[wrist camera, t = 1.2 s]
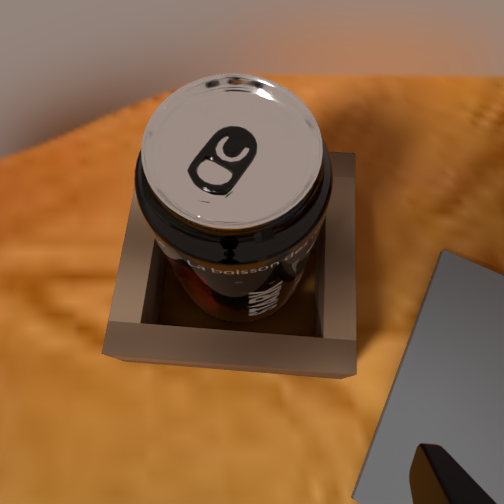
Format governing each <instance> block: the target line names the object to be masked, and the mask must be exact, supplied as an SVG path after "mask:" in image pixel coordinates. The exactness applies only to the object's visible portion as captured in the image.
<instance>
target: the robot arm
mask: <svg viewBox="0 0 504 504" xmlns="http://www.w3.org/2000/svg"><path fill="white" fill-rule="evenodd" d="M409 483H410V489H411V495H412V500H413V504H497V503H496V502H495V501H494V500H493V499H492V498H491V497H490V496H489V495H488V494H487V493H486V492H485V491H484V490H483V489H482V488H481V487H480V486H479V484H478V483H477V482H476V481H475V480H474V479H473V478H472V477H471V476H470V475H469V474H468V473H467V472H466V471H465V470H464V469H463V468H462V467H461V466H460V465H459V464H458V463H457V461H456V460H455V459H454V458H453V457H452V456H451V455H450V454H449V453H448V452H447V451H446V450H445V449H444V448H443V447H442V446H440V445H437V444H427V443H420V444H419V445H418V446H417V448H416V451H415V454H414V458H413V461H412V464H411V467H410V471H409Z"/></svg>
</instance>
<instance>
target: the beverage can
mask: <svg viewBox="0 0 504 504" xmlns="http://www.w3.org/2000/svg"><path fill="white" fill-rule="evenodd" d="M332 187H333V168H332V161H331V157H330V154H329V151H328V148H327V146H326V144H325V142H324V140H323V138H322V136H321V134H320V129H319V127H318V125H317V122H316V120H315V118H314V116H313V115H312V113H311V111H310V110H309V108H308V107H307V106H306V105H305V104H304V103H303V102H302V100H301V99H300V98H298V97H297V96H296V95H295V94H294V93H292V92H291V91H290V90H288V89H286V88H285V87H283V86H281V85H280V84H278V83H275V82H273V81H271V80H268V79H265V78H261V77H258V76H254V75H247V74H220V75H213V76H209V77H205V78H201V79H199V80H196V81H193V82H191V83H189V84H187V85H185V86H183V87H181V88H179V89H178V90H177V91H175V92H174V93H172V94H171V95H170V96H168V97H167V98H166V99H165V100H164V101H163V102H162V103H161V104H160V105H159V107H158V108H157V109H156V110H155V112H154V113H153V115H152V116H151V118H150V120H149V122H148V124H147V126H146V129H145V131H144V135H143V140H142V147H141V150H140V152H139V155H138V158H137V162H136V168H135V191H136V197H137V201H138V204H139V207H140V210H141V212H142V214H143V217H144V219H145V221H146V224H147V226H148V227H149V229H150V231H151V233H152V234H153V236H154V238H155V239H156V241H157V243H158V245H159V246H160V248H161V250H162V252H163V253H164V255H165V257H166V258H167V260H168V262H169V264H170V265H171V267H172V269H173V270H174V272H175V274H176V276H177V277H178V279H179V281H180V282H181V284H182V286H183V287H184V289H185V290H186V292H187V293H188V295H189V296H190V298H191V299H192V300H193V301H194V302H195V303H196V304H197V305H198V306H199V307H200V308H201V309H202V310H204V311H205V312H207V313H208V314H210V315H212V316H214V317H217V318H219V319H222V320H226V321H232V322H248V321H254V320H258V319H261V318H264V317H266V316H268V315H270V314H272V313H274V312H275V311H277V310H278V309H279V308H281V307H282V306H283V305H284V304H285V303H286V302H287V301H288V300H289V298H290V297H291V296H292V294H293V293H294V291H295V289H296V287H297V285H298V283H299V281H300V279H301V276H302V274H303V272H304V269H305V267H306V264H307V261H308V259H309V256H310V254H311V251H312V249H313V246H314V244H315V241H316V238H317V236H318V233H319V231H320V228H321V226H322V223H323V221H324V218H325V215H326V213H327V210H328V206H329V202H330V198H331V194H332Z"/></svg>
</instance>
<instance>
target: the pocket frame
mask: <svg viewBox="0 0 504 504" xmlns="http://www.w3.org/2000/svg"><path fill="white" fill-rule="evenodd" d="M329 154H330V157H331V161H332V168H333V187H332V194H331V198H330V202H329V206H328V210H327V213H326V215H325V218H324V221H323V223H322V226H321V228H320V231H319V233H318V236H317V238H316V259H315V295H314V330H313V337H306V336H293V335H281V334H268V333H256V332H243V331H230V330H218V329H205V328H193V327H180V326H167V325H158V321H159V314H160V308H161V301H162V295H163V289H164V282H165V276H166V269H167V263H168V260H167V258H166V257H165V255H164V253H163V252H162V250H161V248H160V246H159V245H158V243H157V241H156V239H155V238H154V236H153V234H152V233H151V231H150V229H149V227H148V226H147V224H146V221H145V219H144V217H143V214H142V212H141V210H140V207H139V204H138V201H137V197H136V191H135V188H134V193H133V198H132V203H131V208H130V213H129V218H128V223H127V228H126V233H125V238H124V243H123V248H122V253H121V258H120V263H119V269H118V274H117V279H116V284H115V289H114V294H113V299H112V304H111V309H110V314H109V319H108V324H107V329H106V334H105V339H104V344H103V349H102V354H104V355H107V356H110V357H113V358H116V359H119V360H122V361H127V362H139V363H152V364H164V365H176V366H188V367H200V368H213V369H225V370H237V371H249V372H261V373H274V374H286V375H298V376H310V377H323V378H335V379H343V378H346V377H350V376H353V375H356V374H357V363H356V213H355V154H354V153H340V152H329Z"/></svg>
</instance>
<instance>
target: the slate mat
mask: <svg viewBox="0 0 504 504" xmlns="http://www.w3.org/2000/svg"><path fill="white" fill-rule="evenodd" d="M420 443H427V444H437V445H440V446H442V447H443V448H444V449H445V450H446V451H447V452H448V453H449V454H450V455H451V456H452V457H453V458H454V459H455V460H456V461H457V463H458V464H459V465H460V466H461V467H462V468H463V469H464V470H465V471H466V472H467V473H468V474H469V475H470V476H471V477H472V478H473V479H474V480H475V481H476V482H477V483H478V484H479V486H480V487H481V488H482V489H483V490H484V491H485V492H486V493H487V494H488V495H489V496H490V497H491V498H492V499H493V500H494V501H495V502H496V503H497V504H504V275H501V274H499V273H497V272H494V271H492V270H490V269H487V268H485V267H483V266H481V265H478V264H476V263H474V262H471V261H469V260H467V259H464V258H462V257H460V256H457V255H455V254H453V253H451V252H448V251H446V250H443V251H441V253H440V256H439V259H438V261H437V264H436V267H435V269H434V272H433V275H432V278H431V280H430V283H429V286H428V289H427V291H426V294H425V297H424V299H423V302H422V305H421V308H420V310H419V313H418V316H417V319H416V321H415V324H414V327H413V330H412V332H411V335H410V338H409V340H408V343H407V346H406V349H405V351H404V354H403V357H402V360H401V362H400V365H399V368H398V371H397V373H396V376H395V379H394V381H393V384H392V387H391V390H390V392H389V395H388V398H387V401H386V403H385V406H384V409H383V412H382V414H381V417H380V420H379V422H378V425H377V428H376V431H375V433H374V436H373V439H372V442H371V444H370V447H369V450H368V453H367V455H366V458H365V461H364V463H363V466H362V469H361V472H360V474H359V477H358V480H357V483H356V485H355V488H354V491H353V494H352V496H351V498H352V499H354V500H356V501H357V502H359V503H361V504H413V500H412V495H411V489H410V483H409V471H410V467H411V464H412V461H413V458H414V454H415V451H416V448H417V446H418V445H419V444H420Z"/></svg>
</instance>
